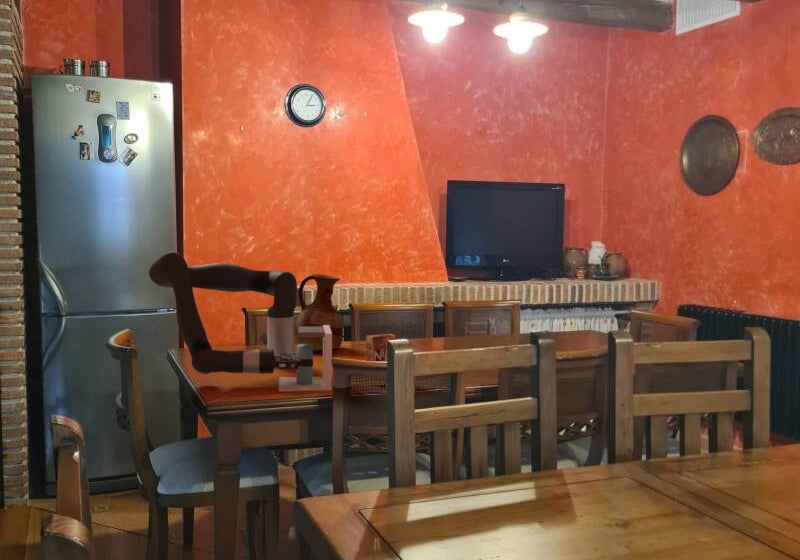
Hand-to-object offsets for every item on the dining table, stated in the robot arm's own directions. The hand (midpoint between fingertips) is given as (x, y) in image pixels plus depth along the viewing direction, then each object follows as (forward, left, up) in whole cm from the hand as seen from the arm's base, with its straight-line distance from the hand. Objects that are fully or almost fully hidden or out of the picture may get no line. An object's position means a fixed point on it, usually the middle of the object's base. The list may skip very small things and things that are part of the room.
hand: (312, 360), depth 240 cm
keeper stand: (0, -2, -7) cm, 8 cm away
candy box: (-2, +22, -8) cm, 23 cm away
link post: (0, -3, -7) cm, 8 cm away
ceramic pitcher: (-61, +4, -8) cm, 62 cm away
